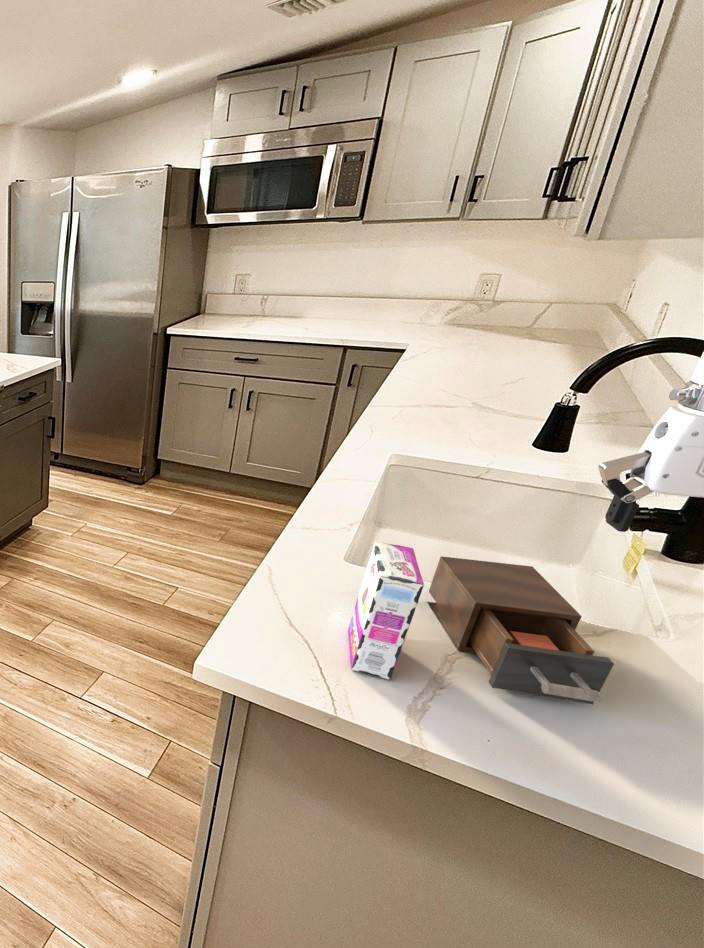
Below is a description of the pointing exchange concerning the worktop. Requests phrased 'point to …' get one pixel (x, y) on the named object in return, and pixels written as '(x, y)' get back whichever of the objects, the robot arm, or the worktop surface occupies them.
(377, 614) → the candy bar box
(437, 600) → the cabinet
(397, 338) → the worktop surface
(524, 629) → the drawer
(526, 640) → the block
